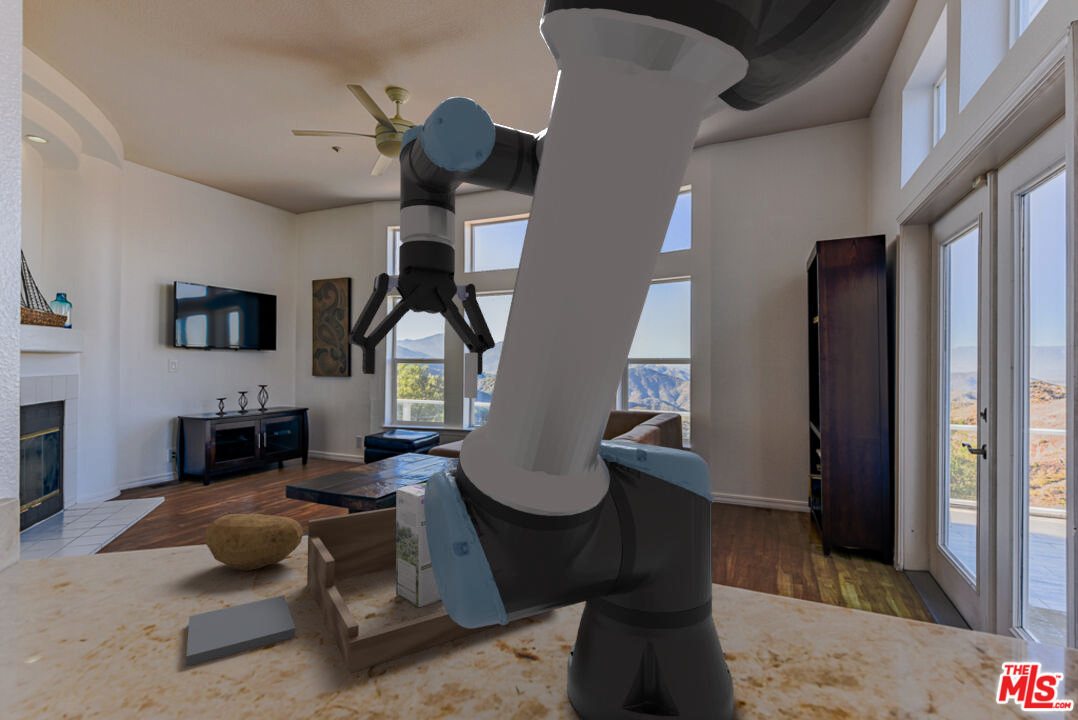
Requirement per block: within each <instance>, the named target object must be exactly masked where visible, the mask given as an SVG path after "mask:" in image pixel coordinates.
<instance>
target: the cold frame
mask: <svg viewBox="0 0 1078 720" xmlns="http://www.w3.org/2000/svg"><path fill="white" fill-rule="evenodd" d="M307 524H308V525H307V564H306V565H307V566H306V567H307V572H306V573H307V574H306V577H307V578H306V581H307V582H306V584H307V587H308V590H309V592H310V593H311V595H312V597H313V599H314V602H315V604H316V606H317V607H318V610H319V612H320V614H321V616H322V618H323V619H324V620H323V621H324V622H325V624H326V626H327V628H328V631H329V632H330V634H331V636H332V638H333V641H334V642H335V645H336V647H337V649H338V651H339V653H340V655H341V657H342V660H343V661H344V664H345V666H346V668H347V670H348V672H349V673H350V674H352V673H355V672H356V673H357V672H359V671H362V670H364V669H368V668H371V667H374V666H377V665H380V664H383V663H386V662H390V661H391V660H395V659H399V658H401V657H404V656H408V655H410V654H414V653H417V652H420V651H423V650H427V649H428V648H432V647H436V646H438V645H441V644H444V643H448V642H450V641H455V640H457V639H460V638H462V637H466V636H469V635H472V634H475V633H477V632H481V631H485V630H487V629H491V628H493V627H494V628H495V627H496V626H500V625H501V624H499V623H498V624H493V625H487V626H482V627H477V628H465V627H462V626H460V625H459V624H458V623H456V622H455V621H453V620H452V618H451V617H450V616H449V614H448V613H447V611H446V609H445V610H442V611H438V612H435V613H432V614H428V615H425V616H421V617H417V618H414V619H411V620H406V621H404V622H403V621H402V622H399V623H397V624H393V625H389V626H385V627H383V628H380V629H379V628H378V629H375V630H372V631H368V632H364V633H362V634H359V627H360V626H359V623H358V622H357V620H356V619H355V617H354V615H353V613H352V612H351V610H350V608H349V607H348V605H347V603H346V602H345V600H344V599H343V597H342V596H341V594H340V592H339V590H338V589H337V587H336V586H335V582H336V581H340V580H346V579H350V578H355V577H359V576H363V575H368V574H373V573H378V572H382V571H385V570H386V571H387V570H391V569H396V506H394V507H388V508H380V509H375V510H367V511H361V512H354V513H348V514H342V515H341V514H340V515H334V516H327V517H321V518H315V519H314V518H313V519H309V520H308V521H307Z"/></svg>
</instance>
